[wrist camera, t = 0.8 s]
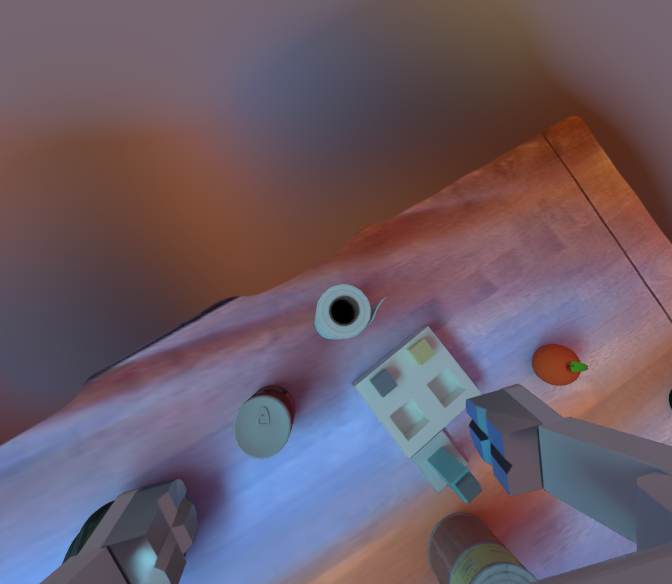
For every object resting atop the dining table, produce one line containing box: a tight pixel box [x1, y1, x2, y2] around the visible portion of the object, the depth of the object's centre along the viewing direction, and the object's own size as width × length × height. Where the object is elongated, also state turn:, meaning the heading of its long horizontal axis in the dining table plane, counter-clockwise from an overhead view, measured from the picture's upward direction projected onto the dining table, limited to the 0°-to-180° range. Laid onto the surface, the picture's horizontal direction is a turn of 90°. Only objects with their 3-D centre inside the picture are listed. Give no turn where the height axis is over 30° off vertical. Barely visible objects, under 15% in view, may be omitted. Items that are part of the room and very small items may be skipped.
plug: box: [427, 447, 482, 503], centre depth 47 cm, size 3×3×10 cm
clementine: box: [532, 344, 588, 386], centre depth 54 cm, size 8×7×7 cm
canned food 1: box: [233, 385, 295, 459], centre depth 47 cm, size 8×8×11 cm
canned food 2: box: [428, 513, 538, 584], centre depth 45 cm, size 11×11×12 cm
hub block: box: [352, 326, 481, 459], centre depth 52 cm, size 14×16×6 cm
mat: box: [411, 430, 469, 493], centre depth 53 cm, size 7×7×1 cm
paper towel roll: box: [314, 284, 387, 340], centre depth 45 cm, size 7×6×21 cm
